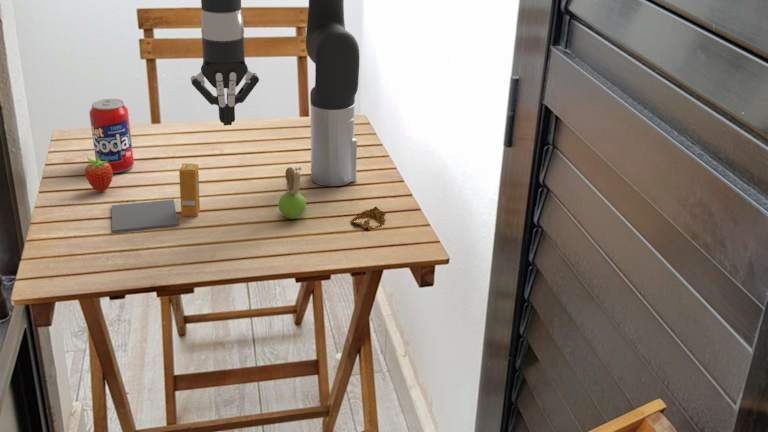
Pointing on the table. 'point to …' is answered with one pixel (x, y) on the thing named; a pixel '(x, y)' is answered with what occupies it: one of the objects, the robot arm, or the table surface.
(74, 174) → the table surface
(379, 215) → the leaf
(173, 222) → the mat
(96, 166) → the fruit
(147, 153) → the table surface
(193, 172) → the supplement box
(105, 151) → the soda can
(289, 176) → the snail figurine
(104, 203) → the table surface
